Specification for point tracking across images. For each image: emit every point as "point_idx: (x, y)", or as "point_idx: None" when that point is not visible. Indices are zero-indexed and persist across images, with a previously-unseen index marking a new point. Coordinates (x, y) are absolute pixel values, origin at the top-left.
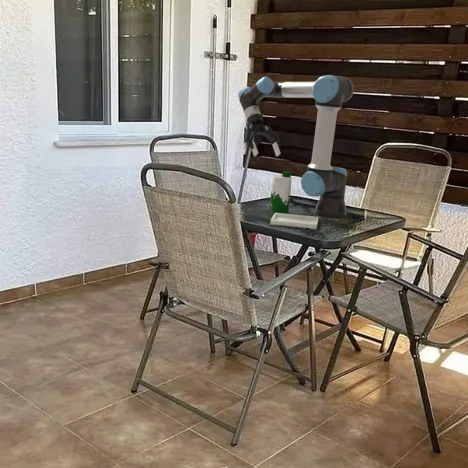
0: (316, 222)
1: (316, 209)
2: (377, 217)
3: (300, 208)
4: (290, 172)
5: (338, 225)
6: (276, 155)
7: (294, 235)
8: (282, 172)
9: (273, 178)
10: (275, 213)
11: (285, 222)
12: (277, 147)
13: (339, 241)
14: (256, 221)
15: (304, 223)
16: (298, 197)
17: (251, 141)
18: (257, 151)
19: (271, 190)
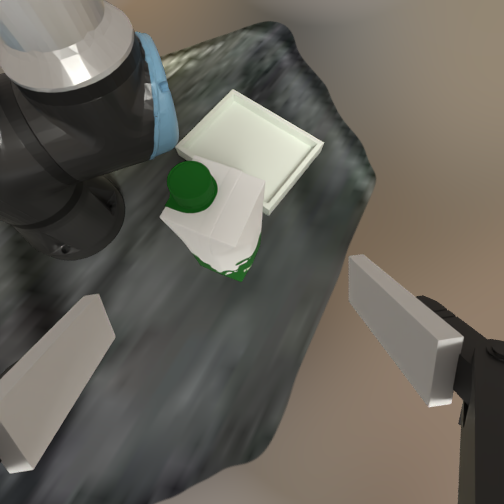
0: (220, 103)
1: (115, 220)
2: None
3: (111, 308)
4: (171, 173)
5: None
6: (112, 336)
7: (309, 73)
8: (207, 191)
9: (254, 214)
10: (272, 201)
11: (292, 126)
12: (56, 337)
13: (244, 28)
14: (340, 188)
15: (255, 102)
16: None
17: (484, 342)
18: (359, 262)
19: (259, 235)
